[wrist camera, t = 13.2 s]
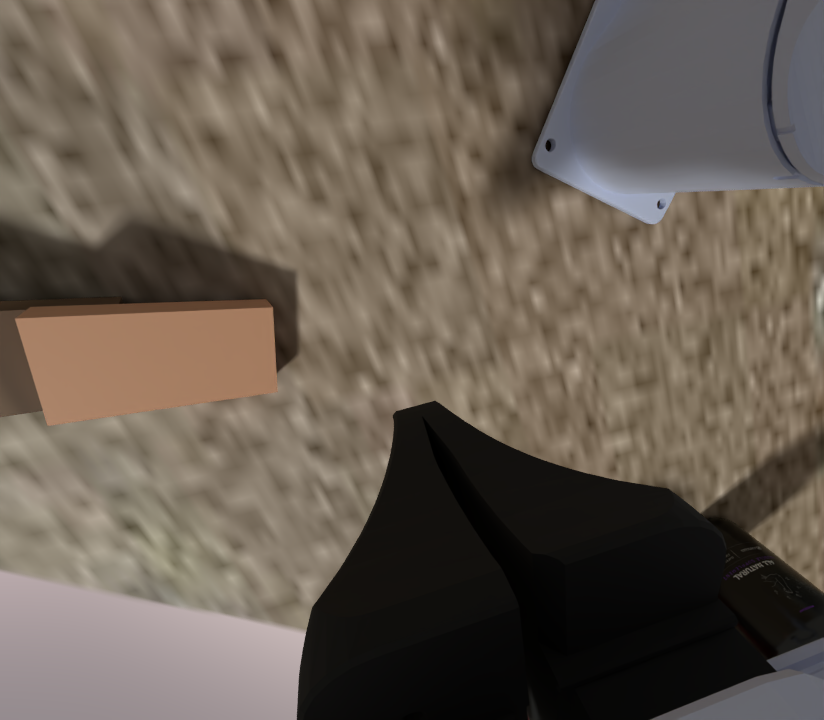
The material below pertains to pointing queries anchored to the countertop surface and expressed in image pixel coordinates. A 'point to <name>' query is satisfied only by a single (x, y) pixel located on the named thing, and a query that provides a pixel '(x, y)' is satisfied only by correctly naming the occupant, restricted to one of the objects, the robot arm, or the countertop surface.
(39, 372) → the domino
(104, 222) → the countertop surface
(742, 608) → the supplement bottle
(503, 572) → the robot arm
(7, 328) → the domino
